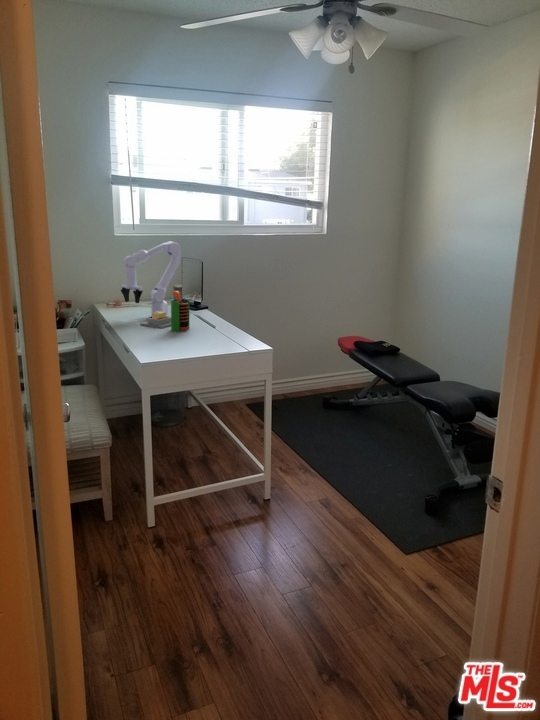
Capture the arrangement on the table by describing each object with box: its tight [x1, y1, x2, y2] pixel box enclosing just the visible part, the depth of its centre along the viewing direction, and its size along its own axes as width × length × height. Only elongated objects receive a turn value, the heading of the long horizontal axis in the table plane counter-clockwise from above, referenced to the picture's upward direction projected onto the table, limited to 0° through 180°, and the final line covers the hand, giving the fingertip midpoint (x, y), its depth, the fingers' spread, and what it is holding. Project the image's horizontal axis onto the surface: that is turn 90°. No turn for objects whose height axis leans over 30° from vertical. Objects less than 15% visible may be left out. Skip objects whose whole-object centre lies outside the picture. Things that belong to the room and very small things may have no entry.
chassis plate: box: [139, 316, 171, 329], centre depth 293 cm, size 14×15×4 cm
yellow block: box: [150, 311, 169, 320], centre depth 292 cm, size 9×4×6 cm, turn 150°
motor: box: [170, 290, 190, 333], centre depth 279 cm, size 10×9×20 cm
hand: (132, 302), depth 303 cm, fingers open, 7 cm apart
